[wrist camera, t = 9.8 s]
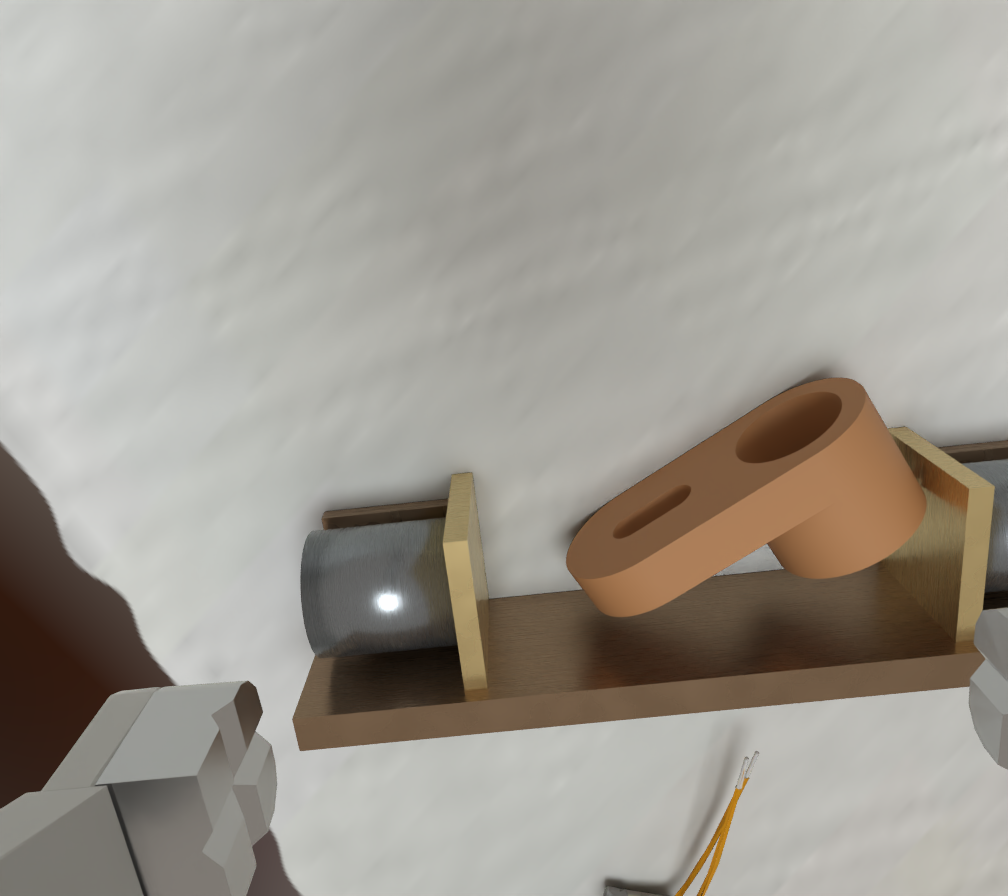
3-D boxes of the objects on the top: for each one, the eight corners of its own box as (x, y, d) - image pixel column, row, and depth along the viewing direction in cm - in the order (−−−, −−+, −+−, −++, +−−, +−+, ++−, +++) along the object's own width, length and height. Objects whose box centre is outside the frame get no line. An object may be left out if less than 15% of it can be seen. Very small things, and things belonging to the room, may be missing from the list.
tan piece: (894, 405, 38) (957, 516, 40) (827, 363, 46) (882, 457, 48) (573, 603, 42) (645, 696, 44) (560, 532, 50) (622, 613, 52)
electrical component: (663, 700, 54) (679, 753, 49) (750, 716, 54) (774, 769, 50) (576, 962, 62) (582, 1030, 57) (653, 974, 62) (666, 1042, 57)
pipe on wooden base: (303, 490, 49) (257, 571, 39) (1060, 410, 47) (1200, 474, 38) (335, 642, 52) (299, 750, 43) (1040, 572, 51) (1163, 667, 41)
